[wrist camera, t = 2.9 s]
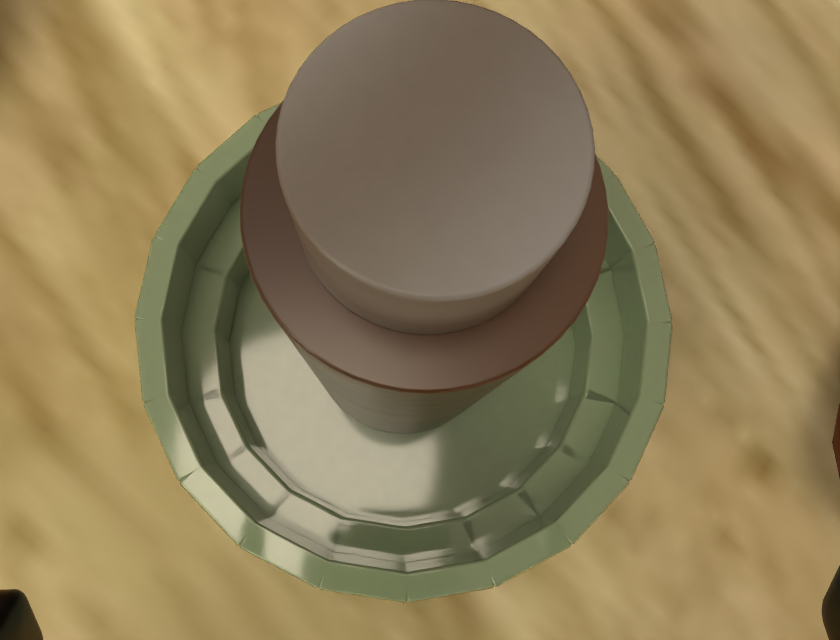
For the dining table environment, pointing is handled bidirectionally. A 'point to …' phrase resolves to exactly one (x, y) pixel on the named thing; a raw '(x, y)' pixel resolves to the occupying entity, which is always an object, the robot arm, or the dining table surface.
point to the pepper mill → (425, 210)
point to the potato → (837, 441)
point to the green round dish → (382, 451)
